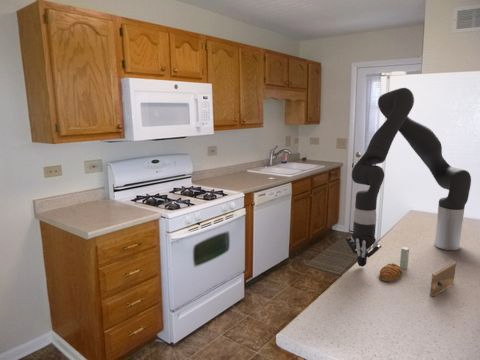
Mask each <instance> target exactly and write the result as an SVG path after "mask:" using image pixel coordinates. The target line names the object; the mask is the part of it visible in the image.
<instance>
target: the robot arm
mask: <svg viewBox="0 0 480 360" xmlns="http://www.w3.org/2000/svg"><path fill="white" fill-rule="evenodd" d="M414 104H415V96H414V94H413V92H412V90H411V89H410V88H407V87H400V88H396V89H394V90H390V91H388V92H386V93H382V94H381V95H380V96H379V98H378V100H377V106H378V109H379V111H380V112H381V114H382V116H384V117H385V118H386V120H385V121H384V122H383V123H382V124H381V125H380V127H379V128H378V129H377V130H376V132H375V133H374V134H373V136H372V137H371V139H370V140H369V143H368V146H367V148H366V151H365V152H364V154H363V155H362V156H361V158H360V159H359V160H358V161H357V162H356V163H355V165H354V166H353V168H352V170H351V179H352V181H353V182H354V183H355V184H359V185H364V186H369V187H368V190H365V189H364V190H359V191H357V192H356V195H355V203H354V205H355V206H354V212H353V224H352V225H353V227H352V234H351V235H350V236H349V237H347V238H346V239H345V240H346V243H347V244H348V246H349V248H350V249H351V251H352V253H353V254H356V255H357V259H356V260H357V261H356V262H357V264H358V266H359V267H361V268H362V267H365V266H367V264H368V263H367V260H368V258H370V257H372V256H373V255H375V253H377V252H378V251H379V250H380V249H381V248H382V245H381V244H379V243H378V242H377V239H376V228H377V227H376V226H377V220H378V219H377V206H378V205H377V203H378V196H379V193H380V189H381V186H382V184H383V182H384V180H385V179H384V178H385V172H384V169H383V168H382V167H381V166H380V164H383V163H384V162H385V161H386V158H387V156H388V154H389V151H390V149H391V146H392V144H393V142H394V139H395V138H396V135H397V134H398V132H399V133H400V134H401V136H402V137H403V138H404V139H405V140H406V142H407V143H408V145H409V146H410V147H411V148H412V150H413V151H414V152H415V154H417V155H418V157H419V158H420V160H421V161H422V162H423V163H424V165H425V166H426V167H427V168H428V170H429V172H430V173H431V175H432V177H433V178H434V180H435V182H436V183H437V185H438V186H440V188H442V189H444V190H448V194H447V196H446V197H441V198H440V199H438V204H437V205H438V206H437V215H436V224H435V233H434V243H433V245H434V246H435V247H436V248H437V249H438V248H439V249H441V250H446V251H458V250H460V245H461V239H462V232H463V231H462V230H463V223H464V217H465V206H466V204H467V203H468V200H469V196H470V190H471V185H472V176H471V173H469V171H468V170H466V169H463V168H457V167H453V166H452V165H450V164H449V163H448V162H447V161H446V159H445V158H444V157H443V151H442V150H443V147H442V142H441V141H440V140H439V138H438V136H437V135H436V134H435V132H434V131H433V130H432V129H431V128H429V127H428V126H426V125H424V124H422V123H420V122H419V121H416V120H415V119H413V118H411V117H410V116H408V115H409V114H410V113H411V110H412V109H413V108H414ZM371 247H372V249H371V250H370V248H371ZM369 250H370V251H369Z"/></svg>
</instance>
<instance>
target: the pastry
mask: <svg viewBox="0 0 480 360" xmlns="http://www.w3.org/2000/svg"><path fill="white" fill-rule="evenodd" d="M403 274H404V272H403V271H402V268H400V265H398V264H396V263H387V264H386V265H384V266H382V267H381V268H380V270H379V279H380V280H381V281H385V282H389V283H391V282H395V281H398V280H399V279H401V278H402V276H403Z"/></svg>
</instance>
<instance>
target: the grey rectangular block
mask: <svg viewBox="0 0 480 360" xmlns="http://www.w3.org/2000/svg"><path fill="white" fill-rule="evenodd" d="M409 255H410V248H409V247H406V246H403V247H401V249H400V260H399V262H400V263H399V267H400V269H401V270H402V269H403V270H407V269H408V267H409V264H408V263H409ZM453 262H454V263H456V264H457V261H453Z"/></svg>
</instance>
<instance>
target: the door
mask: <svg viewBox="0 0 480 360" xmlns="http://www.w3.org/2000/svg"><path fill="white" fill-rule="evenodd" d="M456 269H457V262H456V263H454V261H453V262H451V263H449V264H448V265H446V266H444V267H442V268H441V269H439V270H437V271H435V272H434V273H432V274H431V275H432V277H431V282H430V291H429V292H430V293H429V295H430V296H432V297H434V296H436V295H438V294H440V293H441V292H442V291H444V290H445V289H446V288H449V287H450V286H451V285H453V284H454V283H455V278H456V277H455V275H456Z"/></svg>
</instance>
